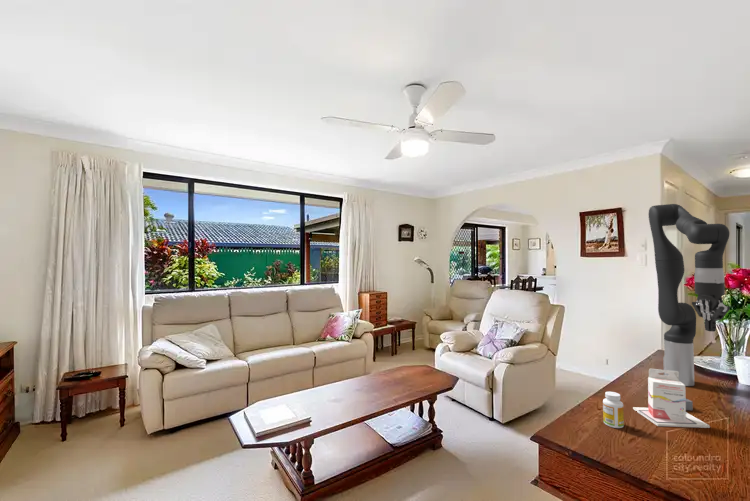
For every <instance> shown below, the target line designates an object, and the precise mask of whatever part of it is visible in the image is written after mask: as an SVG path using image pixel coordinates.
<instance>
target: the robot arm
mask: <svg viewBox="0 0 750 501" xmlns="http://www.w3.org/2000/svg"><path fill="white" fill-rule="evenodd" d="M648 221H649V228H650V231H651V237H652V241H653V251H654V252H653V253H654V263H655V264H654V265H655V271H656V280H657V290H658V299H657V300H658V301H657V303H658V304H657V305H658V306H657V310H658V316H659V319H660V320H661V322H662V323H664V324H665V325H667V326H671V327H670V328H669V330H667V331H666V332H664V334H663V344H664V345H663V347H664V349H663V350H664V355H663V357H662V359H663V363H662V364H663V365H662V366H663V370H670V371H678V372H679V381H680V382H682V383H683V384H684V385H685V387H694V386H695V362H694V361H695V354H694V339H695V337H696V334H697V332H696V331H697V315H698V317H699V318H702V319H703V320H704V330H705V331H706V332H716V330H717V321H719V320H720V321H722V320H723V319H724V317H725V316H726V315H727V313H728V312H729V311H730V309H731V307H730V306H727V305H725V304H724V300H723V298H722V297H723V296H725V294H726V293H725V292H726V289H725V287H726V285H725V272H724V262H723V259H724V253H725V251H726V250H725V249H726V246H727V244H728V242H729V238H730V230H729V228H728V227H727V225H725V224H723V223H707V222H706V221H705V220H703V219H701V218H698V217H697V216H694V215H692V214H691V213H690V212H689V211H688V210H686V208H684V207H683V206H682V205H680V204H677V203H670V204H669V203H667V204H657V205H651V207H649V209H648ZM667 226H668V227H669V226H676V230H677V231H679V233H681V234H683V235H685V236H686V237H687V239H688V242H689V243H692V244H695V245H710V246H709V248H708V249H706V250H702V251H701V250H700V251H697V252H695V254H694V274H693V276H694V294H696V295H697V297H696V301H692V302H691V304H689V303H687V302H679V299H678V292H679V291H678V290H679V287H680V285H681V283H682V282H681V281H682V280H683V277H684V274H685V262H684V261H685V260H684V256H683V254H682V252H681V251H680V250H679V249H678V248H677V247H676V246H675V245H674V244H673V242H671V241H670V240H669V238H668V237H667V235H666V233H665V231H664V228H663V227H667ZM663 375H667V376H668V375H669V374H666V373H664V372H663Z"/></svg>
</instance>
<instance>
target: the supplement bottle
mask: <svg viewBox="0 0 750 501" xmlns="http://www.w3.org/2000/svg"><path fill="white" fill-rule="evenodd" d="M604 397H605V398H603V400H602V416H603V419H602V420H603V424H605V425H606V426H608V427H610V428H615V429H622V428H624V427H625V426H624V425H625V421H624V420H625V417H624V416H625V414H624V412H625V411H624V403H623V402H622V401H621V394H620V393H618V392H615V391H605V393H604Z"/></svg>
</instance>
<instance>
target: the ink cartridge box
mask: <svg viewBox="0 0 750 501" xmlns="http://www.w3.org/2000/svg"><path fill="white" fill-rule="evenodd" d="M664 373H666V374H669V375H668V376H667V375H664ZM647 384H648V385H647V390H648V391H647V392H648V393H647V397H648V398H647V399H648V400H647V401H648V404H647V405H648V406H647V408H648V411H649V412H650V414H651V415H652V416H653V417H654V418H661V419H668V420H675V421H681V422H686V412H687V410H686V399H687V398H686V394H687V393H686V386H685V385H684V384H683V383H682V382H680V381H679V372H678V371H670V370H664V369H661V368H658V369H657V368H649V369H648V377H647Z"/></svg>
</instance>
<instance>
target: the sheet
mask: <svg viewBox="0 0 750 501" xmlns="http://www.w3.org/2000/svg"><path fill="white" fill-rule="evenodd" d="M632 409H633V410H634V411H635V412H636V411H637V412H636V413H638V414H639V415H641V416H643V417H644V418H646V419H647V420H648V421H649V422H651V423H653V424H654V425H655V426H657V427H675V428H676V427H677V428H678V427H679V428H698V429H699V428H702V429H703V428H704V429H710V428H711V426H710V424H708V423H706V422H704V421H702V420H701V419H699V418H698V417H695V416H693V415H692V414H690V413H688V412H687V411H686V422H681V421H675V420H668V419H661V418H654V417H653V416H652V415H651V414H650V412H649V411H648V407H643V406H642V407H638V406H637V407H635V406H633V407H632Z"/></svg>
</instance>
